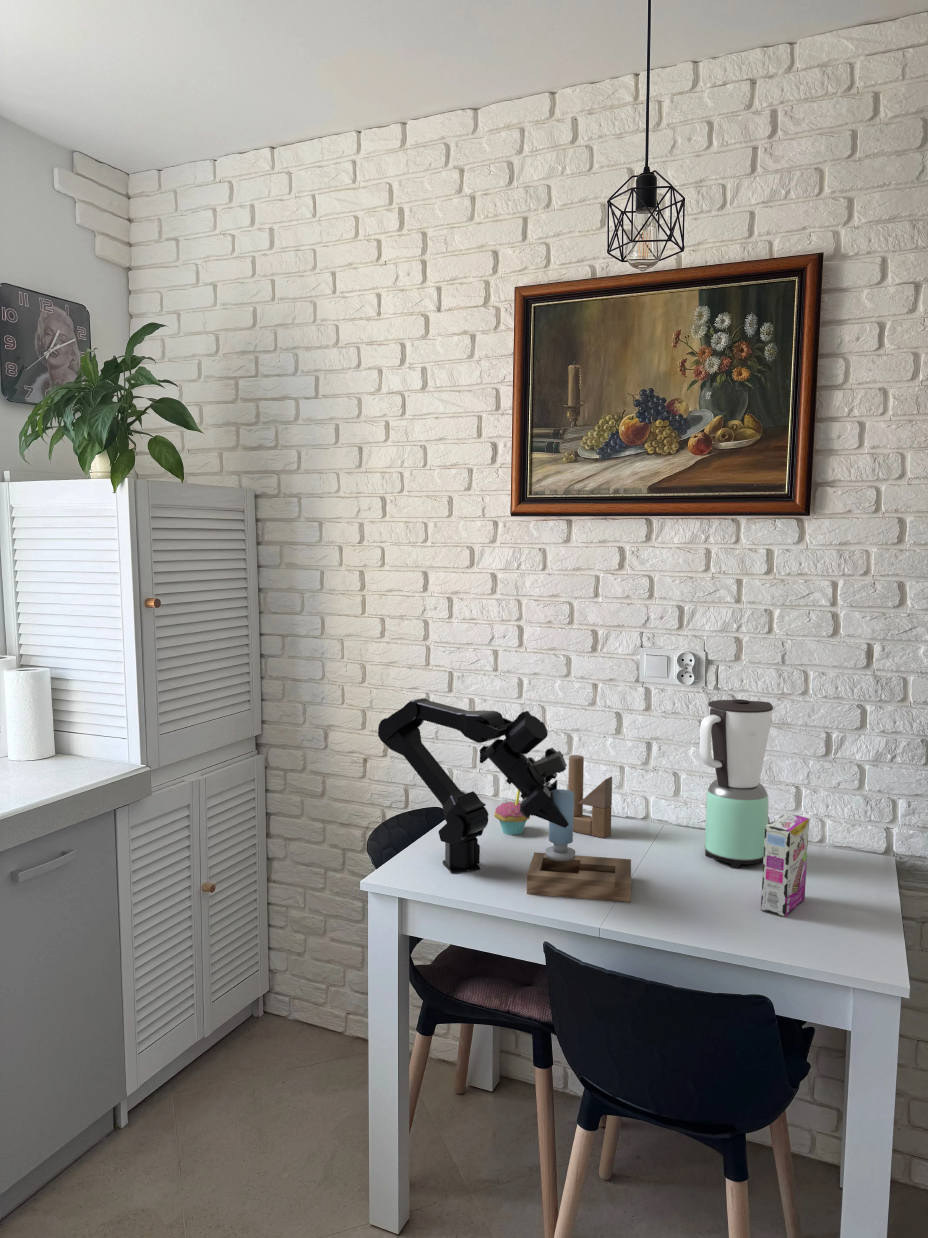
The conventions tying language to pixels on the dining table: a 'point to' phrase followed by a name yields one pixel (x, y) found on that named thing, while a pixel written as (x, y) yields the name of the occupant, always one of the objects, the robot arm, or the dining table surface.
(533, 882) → the keyhole board
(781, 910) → the candy bar box
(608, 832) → the wooden block
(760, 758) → the mint green blender
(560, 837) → the keyhole stud
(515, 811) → the cupcake
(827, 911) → the dining table surface
